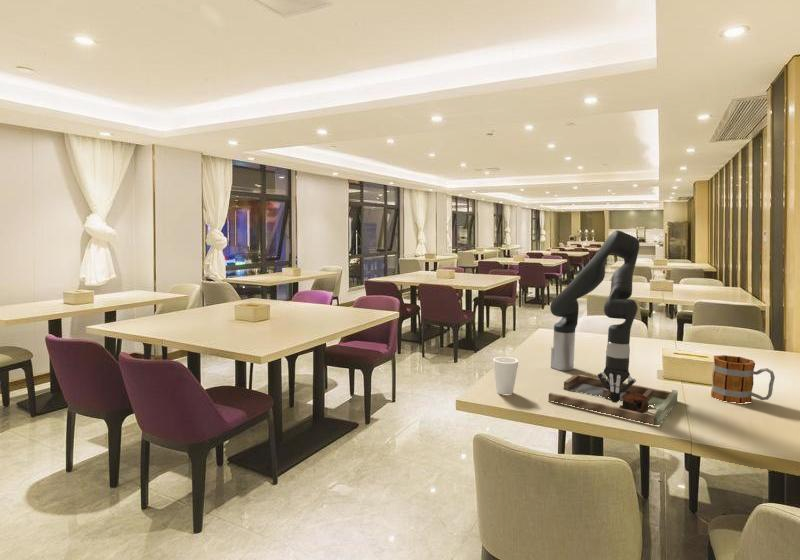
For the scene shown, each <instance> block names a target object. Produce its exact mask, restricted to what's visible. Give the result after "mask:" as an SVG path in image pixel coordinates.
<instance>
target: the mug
mask: <svg viewBox="0 0 800 560" xmlns="http://www.w3.org/2000/svg"><path fill="white" fill-rule="evenodd" d="M713 362H714V363H713V370H712V377H711V378H712V384H711V385H712V386H711V392H710V395H711V398H712V397H713V398H712V399H715V398H716V399H715V400H717V399H719V400H718V401H720V400H722V401H721V402H723V401H727V402H736V403H745V402H753V401H752V397H753V398H756V399H758V400H761V401H766V400H769V399H770V398H771V397H772V395H773V391H774V390H773V389H774V383H775V378H776V377H775V373H774V371H773V370H771V369H769V368H760V369H758V370H756V371H755V365H756V362H755V361H754V360H753V359H749V358H745V357H741V356H735V355H726V354H721V355H713ZM763 372H767V373H768V374H770V379H769V384H768V391H767V394H766V396H761V395H759V394H757V393H754V392H753V387H754V375H756V376H758V375H760V374H762V373H763ZM727 402H726V403H727Z"/></svg>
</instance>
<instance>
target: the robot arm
mask: <svg viewBox="0 0 800 560" xmlns="http://www.w3.org/2000/svg"><path fill="white" fill-rule="evenodd" d="M639 250H640V240H639V239H638V238H637V237H635V236H633V235H631V234H628V233H626V232H624V231H623V230H622V231H621V230H614V231H613V232H612V233H611V234H610V235H609V236H608V237H607V239H606V240H605V241H604V242H603V244H602V245H601V247H599V249H598V250H597V252H596V253H595V254H594V256H593V257H592V258H591V259H590V260H589V262H588V263H586V264H585V266H584V267H582V269H581V270H580V271H579V273H578V274H576V276H575V277H574V279H572V281H570V283H568V284H567V286H566V287H565V288H564V289H563V290H562V291H560V293H558V294H557V295H556V296H555V297H554V298H553V299H552V301H551V303H550V307H549V309H550V313H551V314H552V315H553V316H555V317H559V318H561V319H560V320H559V321H558V322H557V323H554V325H553V344H552V345H553V346H552V347H551V353H550V368H553V369H554V370H558V371H565V372H566V371H573V370H574V366H575V363H574V361H575V343H576V342H575V341H576V328H577V325H578V319H579V311H580V310H579V309H580V308H579V302H578V300H579V299H580V298H582V297H585V296H586V295H588V294H589V293H591V292H593V291H594V290H595V289H596V288H597V287H598V286H599V285H601V283H602V282H603V281H604V279H605V277H606V276H605V275H606V260H607V258H608V257H609V256H610V255H614V256H616V257H619V258H621V259H623V262H624V263H623V264H622V265H621V266H620V267H619V268H617V269H616V270H615V271H614V272H613V274H612V277H611V282H610V284H611V285H610V292H609V294H608V297H607V299H606V301H605V302H604V306H603V312H604V314H605V316H606V317H608V318H610V319H618V320H624V321H623V322H622V323H620V324H612V325H610V326H609V327H608V333H607V343H606V344H607V345H606V351H605V368H604V369H603V372H599V373H598V374H597V378H599V379H600V381H601V382H602V384H603V385H604V387H605V388H606V389H608V390H610V391H611V398H610V399H609V400H611V402H612V403H615V404H618V402H620V401H619V400H620V393H621V392H625V391H626V390H627V389H628V388H629V387H630V386H631V385H635V383H636V382H637V380H636V378H633V377H632V376H631V373H630V370H629V367H630V353H631V351H630V350H631V347H630V341H631V330H632V325H633V323H634V321H635V318H636V316H637V313H638V304H637V302H636V301H635V300H634V299H631V298H630V297H631V296H632V294H633V277H634V272H635V267H636V263H637V259H638V255H639ZM607 380H609V381H610V384H609V382H608V381H607ZM626 380H627V381H626ZM625 381H626V384H627V385H626V386H625V387H623V388H621V386H622V383H625Z"/></svg>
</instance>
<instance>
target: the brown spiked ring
mask: <svg viewBox="0 0 800 560" xmlns="http://www.w3.org/2000/svg"><path fill="white" fill-rule="evenodd" d="M622 398H623V402H622V405H619V407H618V408H622V409H627V410H631V411H636V412H640V413H644V412H645V411H647V412H649V408H650V407H648V404H649V403H648V401H649V399H648V398H647V397H646V396H644V395H641V394H639V393H636V392H632V391H627V392H626V394H625V395H623V396H622Z"/></svg>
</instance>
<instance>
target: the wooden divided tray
mask: <svg viewBox="0 0 800 560" xmlns="http://www.w3.org/2000/svg"><path fill="white" fill-rule="evenodd" d="M607 381H608V382H609V384H610V381H609V380H608V379H607ZM627 384H628V383H627V382H623V383H622V386H621V388H623V387H625V386H626V385H627ZM563 389H564V390H566V389H568V390H567V391H570V390H573V391H572V392H575V391H578V392H577V393H580V392H583V393H582V394H584V393H587V394H586V395H589V394H592V395H591V396H594V395H597V396H596V397H598V396H599V395H600V396H602V397H601V398H603V397H607V398H606V399H608V397H609V398H611V391H610V390H608V389H606V388H605V387H604V385H603V384H602V382H601V381H600V379H599V378H598V377H594V376H590V375H589V376H588V375H584V374H574V375H572V376H571V377H569V378H568V379H566V380H565V381H564V382H563ZM627 391H632V392H636V393H639V394H641V395H644V396H646V397H647V398H648V399H649V401H648V403H649V404H648V406H649V405H653V406H654V408H653V409H655V408H658V409H656V411H655V413H653V414H649V413H646V412H645V413H644V412H643V413H640V412H636V411H631V410H627V409H622V408H619V407H617V406H614V405H613V406H612V405H608V404H604V403H600V402H594V401H589V400H586V399H581V398H577V397H572V396H567V395H563V394H560V393H559V394H558V393H554V392H549V393H548V400H549V401H554V402H558V403H563V404H567V405H572V406H575V407H579V408H584V409H588V410H593V411H597V412H601V413H606V414H611V415H615V416H619V417H623V418H626V419H631V420H635V421H640V422H643V423H649V424H653V425H660V424H661V422H662V421H663V419H664V418H665V417H666V418H667V416H668V415H669V414H670V412H671V411H670V410H672V409H673V408H674V406H675V405H674V404H677V402H678V390H677V389H672V390H671V391H667V390H663V389H662V390H661V389H656V388H652V387H647V386H641V385H636V384H633V385H631V386H630V387H629V388H628V389H627V390H626V391H625V392H621V393H620V401H619V402H622V401H623V398H622V396H623V395H625V394H626V392H627ZM654 404H655V405H654ZM650 407H651V406H649V408H650ZM672 407H673V408H672ZM671 408H672V409H671ZM669 411H670V412H669ZM668 413H669V414H668ZM667 414H668V415H667ZM666 415H667V416H666ZM666 418H665V419H666ZM665 419H664V420H665ZM663 422H664V421H663ZM663 422H662V423H663ZM661 425H662V424H661ZM661 425H660V426H661Z"/></svg>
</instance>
